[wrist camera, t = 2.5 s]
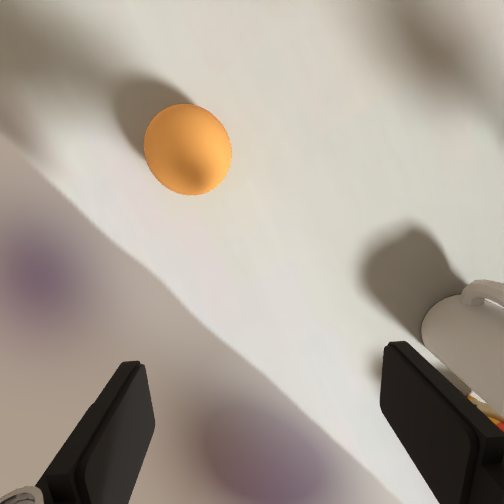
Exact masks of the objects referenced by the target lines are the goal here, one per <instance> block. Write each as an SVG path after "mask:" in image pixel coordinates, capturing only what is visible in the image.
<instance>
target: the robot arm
mask: <svg viewBox="0 0 504 504" xmlns="http://www.w3.org/2000/svg"><path fill="white" fill-rule="evenodd" d="M380 407H381V410H382V413H383V414H384V416H385V418H386V419H387V421H388V422H389V424H390V426H391V427H392V429H393V430H394V432H395V434H396V435H397V437H398V438H399V440H400V442H401V443H402V445H403V446H404V448H405V449H406V451H407V453H408V454H409V456H410V457H411V459H412V461H413V462H414V464H415V465H416V467H417V469H418V470H419V472H420V473H421V475H422V476H423V478H424V480H425V481H426V483H427V484H428V486H429V488H430V489H431V491H432V492H433V494H434V496H435V497H436V499H437V500H438V502H439V503H440V504H504V432H503V431H502V430H501V429H500V428H499V427H498V426H497V425H496V424H495V423H494V422H492V421H491V420H490V419H489V418H488V417H487V416H486V415H485V414H484V413H483V412H482V411H481V410H480V409H478V408H477V407H476V406H475V405H474V404H473V403H472V402H471V401H470V400H469V399H468V398H467V397H466V396H464V395H463V394H462V393H461V392H460V391H459V390H458V389H457V388H456V387H455V386H454V385H453V384H452V383H450V382H449V381H448V380H447V379H446V378H445V377H444V376H443V375H442V374H441V373H440V372H439V371H438V370H436V369H435V368H434V367H433V366H432V365H431V364H430V363H429V362H428V361H427V360H426V359H425V358H424V357H422V356H421V355H420V354H419V353H418V352H417V351H416V350H415V349H414V348H413V347H412V346H411V345H410V344H408V343H407V342H406V341H396V342H389V343H388V346H385V348H384V355H383V367H382V379H381V392H380ZM154 428H155V418H154V413H153V407H152V402H151V396H150V391H149V385H148V380H147V374H146V369H145V365H143V364H140V362H139V361H128V362H122V363H121V364H120V366H119V367H118V369H117V370H116V372H115V373H114V375H113V376H112V378H111V379H110V380H109V382H108V383H107V385H106V386H105V388H104V389H103V391H102V392H101V394H100V395H99V397H98V398H97V400H96V401H95V402H94V403H93V404H92V405H91V406H90V407H89V409H88V410H87V411H86V413H85V414H84V416H83V417H82V419H81V420H80V422H79V423H78V424H77V426H76V427H75V429H74V430H73V432H72V433H71V435H70V436H69V438H68V439H67V440H66V442H65V443H64V445H63V446H62V448H61V449H60V451H59V452H58V453H57V455H56V456H55V458H54V459H53V461H52V462H51V464H50V465H49V466H48V468H47V469H46V471H45V472H44V474H43V475H42V477H41V478H40V480H39V481H38V482H37V484H36V485H35V486H25V487H22V488H18V489H15V490H13V491H11V492H10V493H8V494H6V495H4V496H2V497H1V498H0V504H128V502H129V500H130V496H131V494H132V491H133V488H134V486H135V483H136V480H137V477H138V474H139V471H140V469H141V466H142V463H143V460H144V457H145V455H146V452H147V449H148V446H149V444H150V441H151V438H152V435H153V432H154Z"/></svg>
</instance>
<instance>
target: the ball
mask: <svg viewBox="0 0 504 504" xmlns="http://www.w3.org/2000/svg"><path fill="white" fill-rule="evenodd" d="M144 153H145V158H146V161H147V164H148V166H149V168H150V170H151V172H152V173H153V175H154V176H155V178H156V179H157V180H158V181H159V182H160V183H161V184H162V185H164V186H165V187H166V188H168V189H170V190H172V191H174V192H176V193H179V194H183V195H200V194H204V193H206V192H209V191H211V190H212V189H214V188H215V187H217V186H218V185H219V184H220V183H221V182H222V180H223V179H224V178H225V176H226V174H227V172H228V170H229V167H230V163H231V156H232V151H231V143H230V139H229V137H228V134H227V132H226V130H225V128H224V127H223V125H222V124H221V122H220V121H219V120H218V119H217V118H216V117H215V116H214V115H213V114H212V113H210V112H209V111H207V110H205V109H203V108H201V107H199V106H195V105H191V104H176V105H173V106H170V107H167V108H165V109H163V110H162V111H160V112H159V113H158V114H157V115H156V116H155V117H154V118H153V119H152V121H151V122H150V124H149V126H148V128H147V130H146V133H145V138H144Z"/></svg>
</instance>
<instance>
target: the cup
mask: <svg viewBox="0 0 504 504" xmlns="http://www.w3.org/2000/svg"><path fill="white" fill-rule="evenodd" d="M485 298H486V299H490V300H492V301H494V302H496V303H498V304H500V305H501V306H503V307H504V284H503V283H499V282H494V281H489V280H475V281H473V282H472V283H470V284H469V285H467V286H466V287H465V288H464V289H463V291H462V293H461V295H454V296H450V297H447V298H444V299H443V300H441V301H439V302H437V303H436V304H435V305H434V306H433V307H432V308H431V309H430V310H429V311H428V313H427V314H426V315H425V317H424V320H423V322H422V328H421V334H422V340H423V342H424V344H425V346H426V348H427V349H428V350H429V351H430V352H431V353H432V354H433V355H434V356H435V357H436V358H438V359H439V360H440V361H441V362H442V363H443V364H444V365H445V366H446V367H447V368H449V369H450V370H451V371H452V372H453V373H454V374H455V375H456V376H457V377H459V378H460V379H461V380H462V381H463V382H464V383H465V384H466V385H467V386H469V387H470V388H471V389H472V390H473V391H474V392H475V393H476V394H477V395H478V396H480V397H481V398H482V399H483V400H484V401H485V402H486V403H487V404H488V405H490V406H491V407H492V408H493V409H494V410H495V411H496V412H497V413H498V414H500V415H501V416H502V417H503V418H504V309H503V308H501V307H499V306H497V305H495V304H493V303H491V302H489V301H487V300H485Z"/></svg>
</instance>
